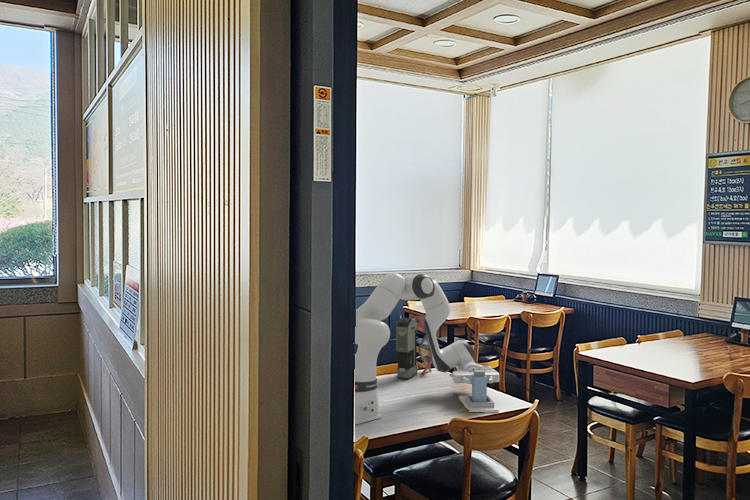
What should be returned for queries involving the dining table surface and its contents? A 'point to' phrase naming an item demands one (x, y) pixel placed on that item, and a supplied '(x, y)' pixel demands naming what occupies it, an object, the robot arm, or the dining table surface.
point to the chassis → (479, 405)
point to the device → (406, 348)
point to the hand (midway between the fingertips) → (479, 381)
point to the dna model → (424, 347)
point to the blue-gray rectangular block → (479, 386)
